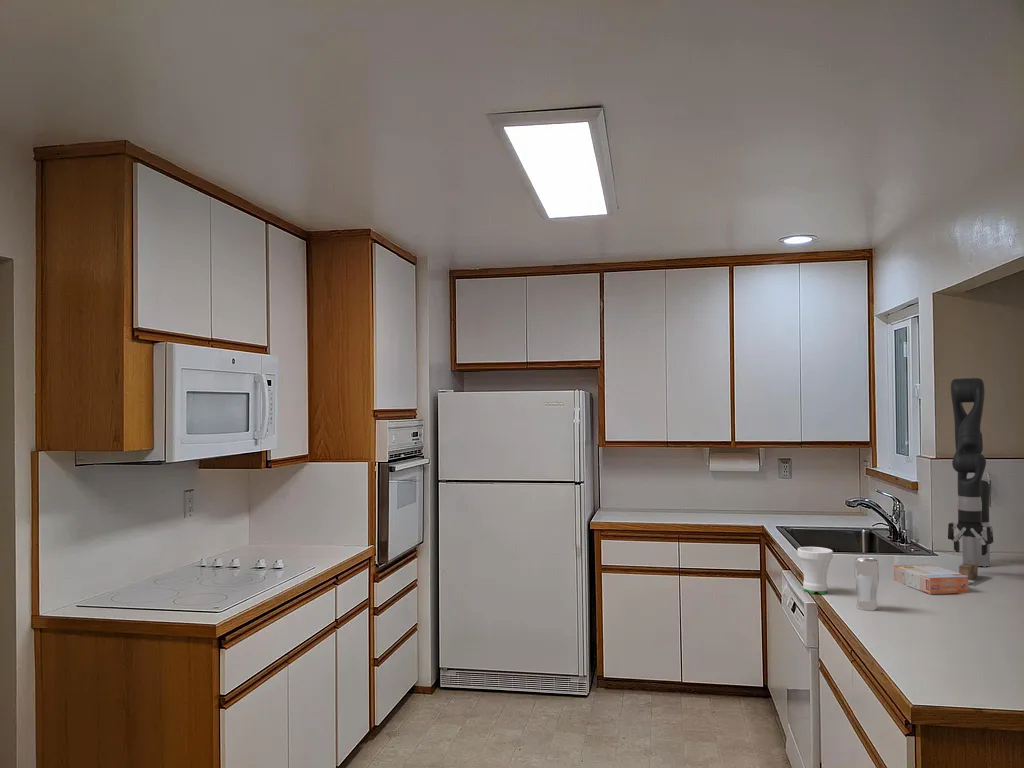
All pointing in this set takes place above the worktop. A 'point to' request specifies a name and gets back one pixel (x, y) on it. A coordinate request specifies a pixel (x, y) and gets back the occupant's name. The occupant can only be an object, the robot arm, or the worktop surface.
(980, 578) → the mat
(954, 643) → the worktop surface
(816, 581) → the cup
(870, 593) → the beer glass
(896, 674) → the worktop surface
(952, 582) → the cracker box
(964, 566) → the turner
